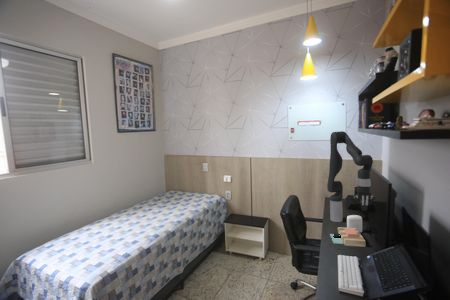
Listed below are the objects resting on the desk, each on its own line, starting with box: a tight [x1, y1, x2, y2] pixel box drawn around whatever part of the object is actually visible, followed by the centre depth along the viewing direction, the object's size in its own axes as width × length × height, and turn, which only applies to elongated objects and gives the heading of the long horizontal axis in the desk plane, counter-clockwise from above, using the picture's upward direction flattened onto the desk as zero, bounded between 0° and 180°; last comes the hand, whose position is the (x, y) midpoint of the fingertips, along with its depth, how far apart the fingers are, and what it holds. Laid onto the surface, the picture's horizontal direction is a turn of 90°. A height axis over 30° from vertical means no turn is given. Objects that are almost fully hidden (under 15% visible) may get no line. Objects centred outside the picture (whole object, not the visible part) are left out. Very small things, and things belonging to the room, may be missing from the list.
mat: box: [329, 233, 344, 245], centre depth 157 cm, size 14×6×1 cm, turn 165°
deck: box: [337, 226, 367, 248], centre depth 156 cm, size 20×12×4 cm, turn 165°
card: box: [344, 227, 358, 237], centre depth 155 cm, size 9×6×2 cm, turn 165°
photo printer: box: [346, 214, 363, 233], centre depth 167 cm, size 10×4×12 cm, turn 81°
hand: (364, 210), depth 152 cm, fingers closed
